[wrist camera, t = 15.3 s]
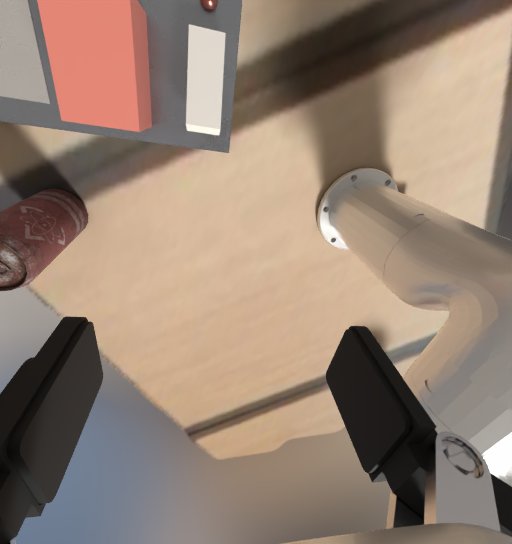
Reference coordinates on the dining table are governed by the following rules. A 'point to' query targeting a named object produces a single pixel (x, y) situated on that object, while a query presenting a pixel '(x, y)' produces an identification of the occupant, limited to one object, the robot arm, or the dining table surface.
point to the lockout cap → (99, 61)
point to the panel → (162, 70)
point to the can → (37, 234)
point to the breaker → (205, 80)
